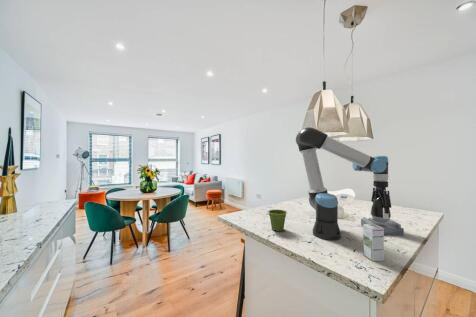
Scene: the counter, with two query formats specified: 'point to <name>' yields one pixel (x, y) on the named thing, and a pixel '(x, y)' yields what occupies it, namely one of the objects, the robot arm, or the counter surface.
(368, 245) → the syrup box
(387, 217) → the robot arm
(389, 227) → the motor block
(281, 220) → the plant pot
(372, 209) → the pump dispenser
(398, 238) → the counter surface
